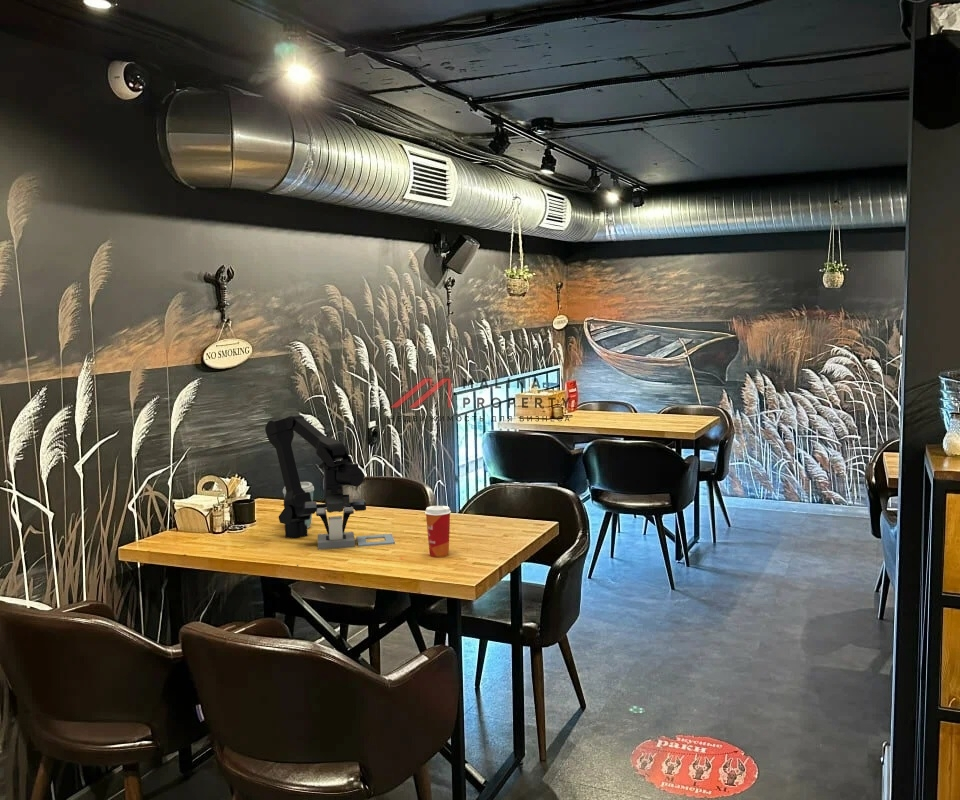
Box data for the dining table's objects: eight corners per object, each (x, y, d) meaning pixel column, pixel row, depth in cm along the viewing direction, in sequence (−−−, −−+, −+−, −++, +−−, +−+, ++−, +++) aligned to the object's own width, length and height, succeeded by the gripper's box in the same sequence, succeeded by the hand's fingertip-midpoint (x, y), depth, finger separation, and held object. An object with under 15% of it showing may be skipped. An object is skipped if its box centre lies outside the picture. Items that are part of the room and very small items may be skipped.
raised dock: (318, 554, 251) (317, 542, 251) (318, 545, 262) (317, 534, 262) (355, 551, 253) (354, 540, 253) (353, 542, 264) (353, 531, 264)
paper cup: (427, 551, 252) (426, 505, 250) (453, 551, 251) (451, 504, 250) (424, 558, 244) (423, 510, 243) (451, 558, 244) (449, 510, 242)
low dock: (358, 551, 254) (358, 544, 253) (356, 542, 264) (356, 536, 264) (395, 548, 256) (394, 542, 255) (391, 540, 266) (391, 533, 266)
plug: (329, 545, 255) (328, 519, 255) (329, 542, 259) (328, 516, 258) (343, 544, 256) (341, 518, 255) (342, 541, 260) (341, 516, 259)
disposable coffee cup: (309, 531, 281) (307, 487, 279) (278, 531, 283) (276, 487, 281) (320, 524, 291) (318, 481, 290) (291, 523, 293) (289, 481, 292)
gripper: (302, 490, 246) (304, 542, 248) (366, 486, 250) (368, 538, 251) (302, 483, 257) (304, 533, 259) (364, 480, 261) (365, 529, 262)
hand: (335, 533), depth 257 cm, fingers closed on plug, 4 cm apart
